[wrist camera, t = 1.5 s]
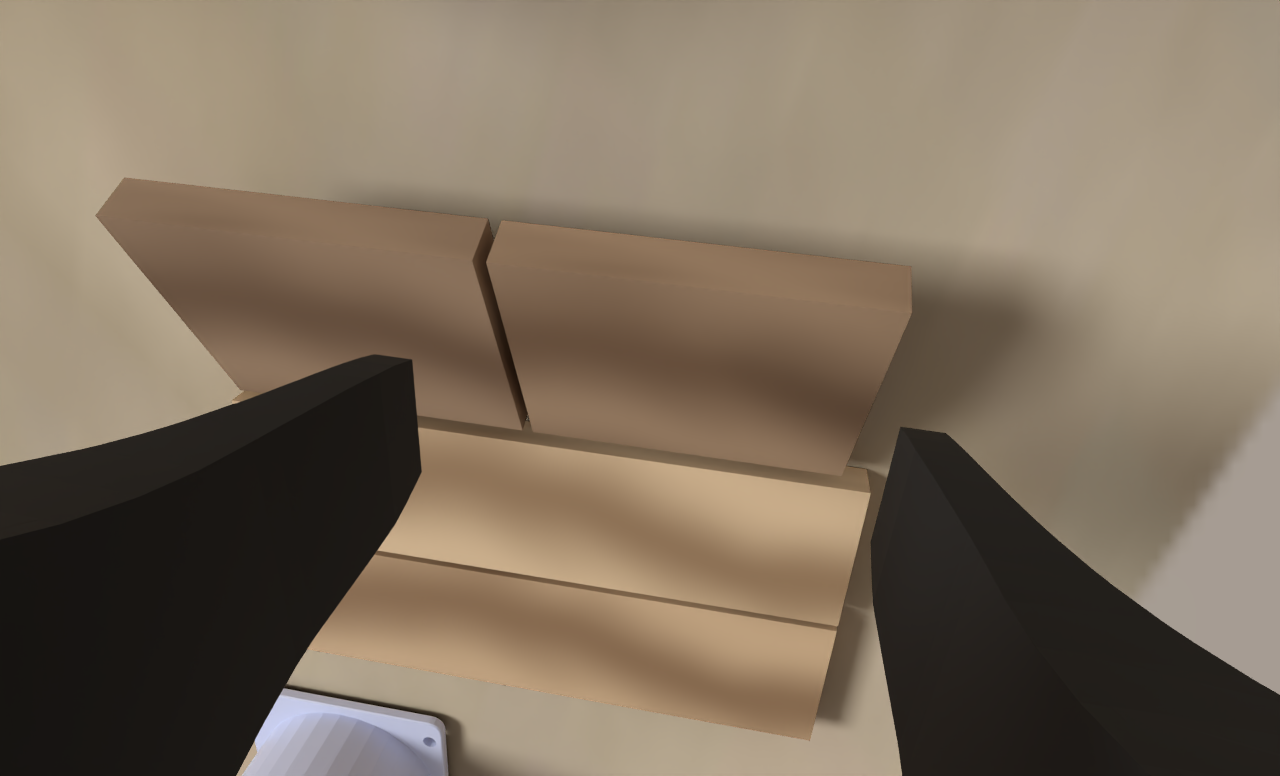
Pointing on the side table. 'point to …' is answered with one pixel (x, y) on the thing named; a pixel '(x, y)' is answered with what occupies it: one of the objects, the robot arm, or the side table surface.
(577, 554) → the laid oak row
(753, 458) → the plank
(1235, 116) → the side table surface
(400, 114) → the side table surface
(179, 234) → the plank
